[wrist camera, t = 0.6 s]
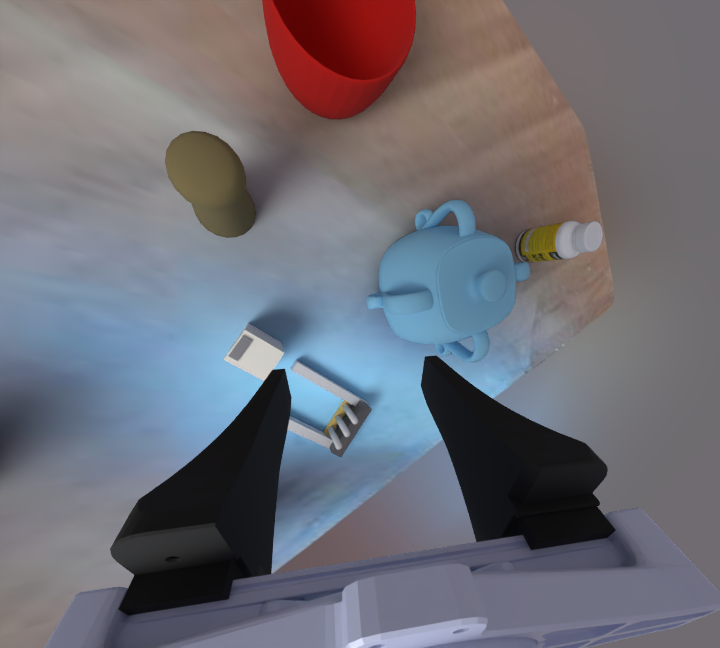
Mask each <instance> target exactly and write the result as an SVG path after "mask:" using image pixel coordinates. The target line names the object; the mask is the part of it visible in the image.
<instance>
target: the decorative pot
mask: <svg viewBox="0 0 720 648" xmlns="http://www.w3.org/2000/svg"><path fill="white" fill-rule="evenodd" d="M451 211H453V212H454V214H455V215H456V217H457V220H458V224H459V226H437V225H438V224H439V223H440V222H441V221H442V220H443V219H444V217H445V216H446V215H447V214H448V213H449V212H451ZM415 227H416V230H417V231H415V232H412V233H410V234H408V235H406V236H404V237H402V238H401V239H399V240H398V241H396V242H395V243H394V244H393V245H392V246H390V248H389V249H388V250H387V251H386V252H385V254H384V256H383V257H382V260H381V263H380V267H379V290H380V293H375V294H372V295H369V296H368V297H367V300H366V304H367V306H368V308H369V309H376V308H383V310H384V313H385V316H386V319H387V321H388V323H389V326H390V327H391V329H392V330H393V331H394V333H395V334H396V335H397V336H399V337H400V338H402V339H404V340H407V341H410V342H414V343H421V344H434V346H435V349H436V351H437V353H438V354H440V355H443V356H447V355H450V354H451V353H453V354H454V355H456V356H457V357H458V358H460V359H462V360H463V361H466V362H477V361H479V360H481V359H483V358H484V357H485V356H486V354H487V352H488V350H489V337H488V333H487V331H486V330H487V329H489V328H491V327H493V326H495V325H496V324H498V323H500V322H501V321H502V320H503V319H505V318H506V317H507V316H508V314H509V313H510V312H511V310H512V308H513V306H514V303H515V296H516V282H519V281H523V280H526V279H528V277H529V275H530V266H529V264H528V263H527V262H518V263H514V262H513V257H512V254H511V251H510V248H509V246H508V245H507V244H506V243H505V242H504V241H503V240H501V239H500V238H498V237H496V236H493V235H490V234H488V233H485V232H482V231H479V230H476V223H475V216H474V213H473V211H472V209H471V208H470V206H469V205H468V204H467V203H466V202H464V201H462V200H450V201H448V202H446V203H444V204H442V205H441V206H440V207H439V208H438V209H437V210H436V211H435V212H434V213H433V211H431V210H430V209H423V210H421V211H419V212H418V213H417V215H416V218H415ZM471 336H472V337H473V341H474V352H471V351H469V350H468V349H466V348H465V347H464V346H462V345H461V344H460V343H458V342H457V341H459V340H462V339H466V338H469V337H471Z"/></svg>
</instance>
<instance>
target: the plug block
mask: <svg viewBox="0 0 720 648" xmlns="http://www.w3.org/2000/svg"><path fill="white" fill-rule="evenodd" d="M283 355H284V350H283V346H282V343H281V342H279V341H278V340H276V339H274V338H273V337H271V336H269V335H268V334H266V333H264V332H263V331H261V330H259V329H258V328H256V327H254V326H253V325H251V324H249V323H248V324H247V326H246V327H245V328H244V330H243V331H242V333H241V334H240V335H239V337H238V338H237V339H236V341H235V342H234V344H233V345H232V346H231V348H230V350H229V351H228V353H227V355H226V356H225V358H224V360H225V361H227V362H229V363H231V364H233V365H235V366H237V367H238V368H240V369H242V370H244V371H246V372H248V373H250V374H252V375H254V376H256V377H257V378H259V379H261V380H263V381H265V379H266V378H267V376H268V375H269V374H270V372H271V371H272V370H273V369H274V367H275V366H276V365H277V363H278V362H279V360H280V359H281V357H282V356H283Z"/></svg>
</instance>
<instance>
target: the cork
mask: <svg viewBox="0 0 720 648" xmlns="http://www.w3.org/2000/svg"><path fill="white" fill-rule="evenodd" d="M165 163H166V168H167V173H168V177H169V179H170V180H171V182H172V184H173V186H174V187H175V189H176V190H177V191H178V192H179V193H180V194H181V195H182V196H183V197H184V198H185V199H186V200H187V201H189V202H190V203H192V206H193V209H194V211H195V214H196V216H197V218H198V219H199V221H200V223H201V224H202V225H203V226H204V227H205V228H206V229H207V230H208V231H210V232H212V233H214V234H216V235H218V236H222V237H226V238H229V237H238V236H240V235H243V234H245V233H246V232H247V231H248V230H249V229H250V228H251V226H252V225H253V223H254V220H255V214H256V212H255V206H254V203H253V201H252V199H251V197H250V195H249V193H248V192H247V190H246V188H245V185H246V178H245V172H244V167H243V165H242V163H241V161H240V159H239V157H238V155H237V154H236V153H235V152H234V151H233V149H232V148H231V147H230V146H229V145H228V144H227V143H226V142H224V141H223V140H221V139H220V138H219V137H217V136H215V135H212V134H209V133H206V132H200V131H190V132H187V133H183V134H180V135H179V136H178V137H176V138H175V139H173V140H172V142H171V143H170V145H169V147H168V148H167V151H166V159H165Z"/></svg>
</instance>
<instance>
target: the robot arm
mask: <svg viewBox="0 0 720 648" xmlns="http://www.w3.org/2000/svg"><path fill="white" fill-rule="evenodd" d="M421 388H422V391H423V394H424V397H425V400H426V403H427V405H428V408H429V410H430V412H431V414H432V416H433V418H434V421H435V423H436V425H437V427H438V429H439V431H440V433H441V436H442V438H443V440H444V442H445V444H446V447H447V449H448V452H449V454H450V457H451V460H452V463H453V466H454V469H455V472H456V475H457V478H458V481H459V484H460V487H461V490H462V493H463V496H464V500H465V503H466V506H467V510H468V513H469V516H470V520H471V523H472V527H473V530H474V534H475V538H476V542H475V543H468V544H462V545H455V546H449V547H443V548H437V549H430V550H423V551H417V552H411V553H404V554H398V555H391V556H385V557H379V558H372V559H366V560H360V561H353V562H346V563H340V564H334V565H327V566H321V567H314V568H309V569H302V570H295V571H290V572H283V573H276V574H271V568H272V552H273V537H274V524H275V511H276V500H277V490H278V480H279V471H280V464H281V459H282V454H283V449H284V444H285V439H286V434H287V429H288V424H289V419H290V410H291V394H290V390H289V385H288V381H287V376H286V372H285V369H277V370H272V371H271V372H270V374H269V375H268V376H267V378H266V379H265V381H264V382H263V384H262V385H261V387H260V388H259V389H258V391H257V392H256V393H255V395H254V396H253V397H252V399H251V400H250V401H249V403H248V404H247V405H246V406H245V408H244V409H243V410H242V411H241V412H240V414H239V415H238V416H237V417H236V418H235V419H234V421H233V422H232V423H231V424H230V425H229V426H228V427H227V428H226V429H225V430H224V431H223V432H222V433H221V434H220V435H219V436H218V437H217V438H216V439H215V440H214V441H213V442H212V443H211V444H210V445H209V446H208V447H207V448H205V449H204V450H203V451H202V452H201V453H200V454H199V455H198V456H196V457H195V458H194V459H193V460H192V461H190V462H189V463H188V464H187V465H185V466H184V467H183V468H182V469H180V470H179V471H178V472H177V473H175V474H174V475H173V476H171V477H170V478H169V479H167V480H166V481H165V482H163V483H162V484H160V485H159V486H158V487H156V488H155V489H153V490H152V491H150V492H149V493H148V494H146V495H145V496H143V497H142V498H140V499H139V500H138V502H137V503H136V505H135V507H134V508H133V510H132V511H131V513H130V515H129V516H128V518H127V520H126V522H125V524H124V525H123V527H122V529H121V531H120V532H119V534H118V536H117V538H116V540H115V541H114V543H113V545H112V547H111V548H110V550H111V555H112V557H113V558H114V559H115V560H116V561H117V562H118V563H119V564H121V565H122V566H123V567H125V568H126V569H127V570H129V571H130V572H131V573H133V574H134V578H133V580H132V582H131V584H130V586H129V588H124V587H113V588H107V589H100V590H94V591H87V592H80V593H78V594H77V595H75V596H74V598H73V600H72V601H71V603H70V605H69V606H68V608H67V610H66V612H65V613H64V615H63V617H62V618H61V620H60V622H59V623H58V625H57V627H56V628H55V630H54V632H53V633H52V635H51V637H50V639H49V640H48V642H47V644H46V645H45V647H44V648H588V647H591V646H596V645H600V644H604V643H609V642H613V641H617V640H621V639H625V638H630V637H634V636H639V635H643V634H648V633H652V632H657V631H661V630H666V629H672V628H676V627H679V626H682V625H684V624H687V623H689V622H691V621H694V620H696V619H699V618H701V617H704V616H706V615H709V614H711V613H714V612H716V611H719V610H720V592H719V591H718V590H717V589H716V588H715V587H714V586H713V585H712V583H710V581H709V580H708V579H707V578H706V577H705V576H704V575H703V574H702V573H701V572H700V571H699V570H698V569H697V567H696V566H695V565H694V564H692V562H691V561H690V560H689V559H688V558H687V557H686V556H685V555H684V554H683V553H682V551H681V550H680V549H679V548H678V547H677V546H676V545H675V544H674V543H673V542H672V541H671V540H670V539H669V537H668V536H667V535H666V534H665V533H664V532H663V531H662V530H661V529H660V528H659V527H658V526H657V525H656V524H655V523H654V522H653V521H652V519H651V518H650V517H649V516H648V515H647V514H646V513H645V512H644V511H643V510H642V509H641V508H632V509H625V510H619V511H613V512H610V513H607V514H605V515H603V513H602V512H601V511H600V510H599V509H598V507H597V506H599V505H600V502H599V500H598V499H597V498H596V497H595V496H594V495H593V491H594V490H595V489H596V488H597V487H598V485H599V484H600V483H601V482H602V481H603V480H604V478H605V477H606V475H607V466H606V464H605V463H604V462H603V461H602V460H601V459H600V458H599V457H598V456H597V455H596V454H595V453H594V452H593V451H592V450H591V448H590V447H589V446H588V445H587V444H585V443H583V442H581V441H578V440H576V439H573V438H571V437H568V436H566V435H563V434H560V433H558V432H555V431H553V430H551V429H549V428H546V427H544V426H542V425H540V424H538V423H536V422H533V421H531V420H529V419H527V418H525V417H524V416H522V415H520V414H518V413H516V412H514V411H512V410H510V409H509V408H507V407H505V406H503V405H502V404H500V403H498V402H497V401H495V400H494V399H492V398H491V397H489V396H488V395H486V394H485V393H483V392H482V391H480V390H479V389H477V388H476V387H475V386H473V385H472V384H471V383H469V382H468V381H467V380H465V379H464V378H463V377H462V376H460V375H459V374H458V373H457V372H455V371H454V370H453V369H452V368H451V367H449V366H448V365H447V364H446V363H445V362H443V361H442V360H441V359H440V358H439V357H437V356H426V357H425V360H424V367H423V374H422V381H421Z"/></svg>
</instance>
